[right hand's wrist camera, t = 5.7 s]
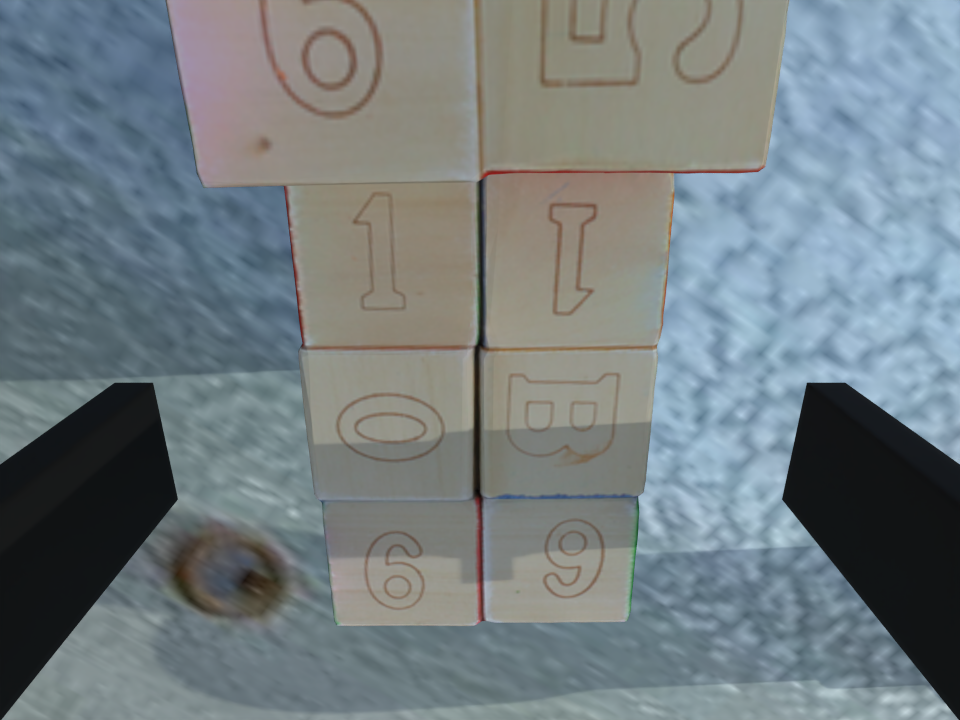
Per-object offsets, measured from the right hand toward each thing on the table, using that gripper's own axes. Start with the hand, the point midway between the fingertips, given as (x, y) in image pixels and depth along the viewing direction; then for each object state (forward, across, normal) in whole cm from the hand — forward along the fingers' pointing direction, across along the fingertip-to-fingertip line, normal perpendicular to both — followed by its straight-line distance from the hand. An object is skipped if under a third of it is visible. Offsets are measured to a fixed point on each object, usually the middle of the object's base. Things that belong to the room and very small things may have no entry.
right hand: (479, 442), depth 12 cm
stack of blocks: (+8, 0, -7) cm, 11 cm away
